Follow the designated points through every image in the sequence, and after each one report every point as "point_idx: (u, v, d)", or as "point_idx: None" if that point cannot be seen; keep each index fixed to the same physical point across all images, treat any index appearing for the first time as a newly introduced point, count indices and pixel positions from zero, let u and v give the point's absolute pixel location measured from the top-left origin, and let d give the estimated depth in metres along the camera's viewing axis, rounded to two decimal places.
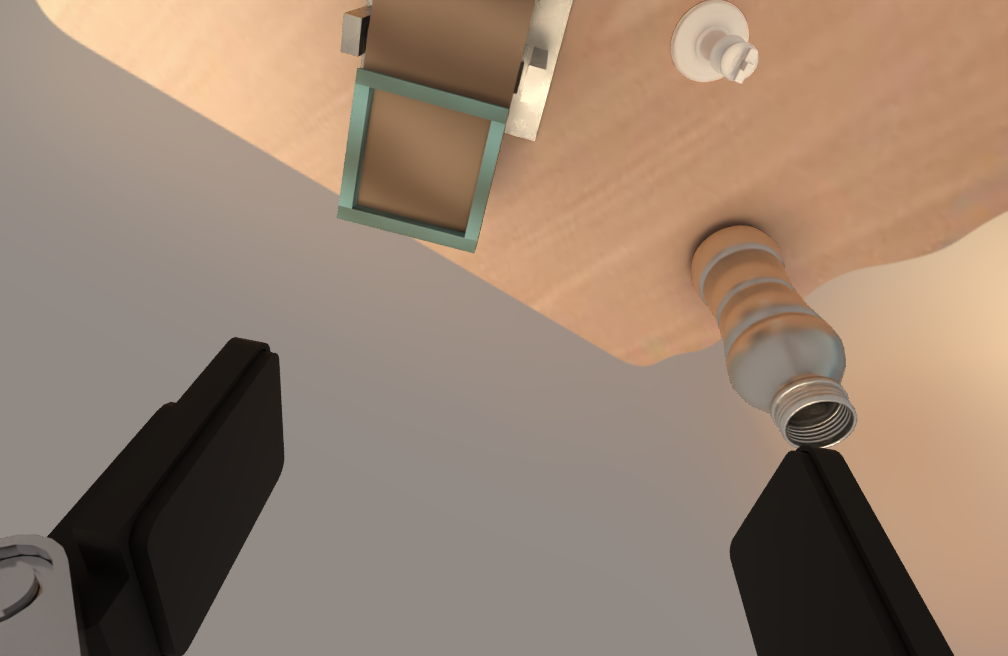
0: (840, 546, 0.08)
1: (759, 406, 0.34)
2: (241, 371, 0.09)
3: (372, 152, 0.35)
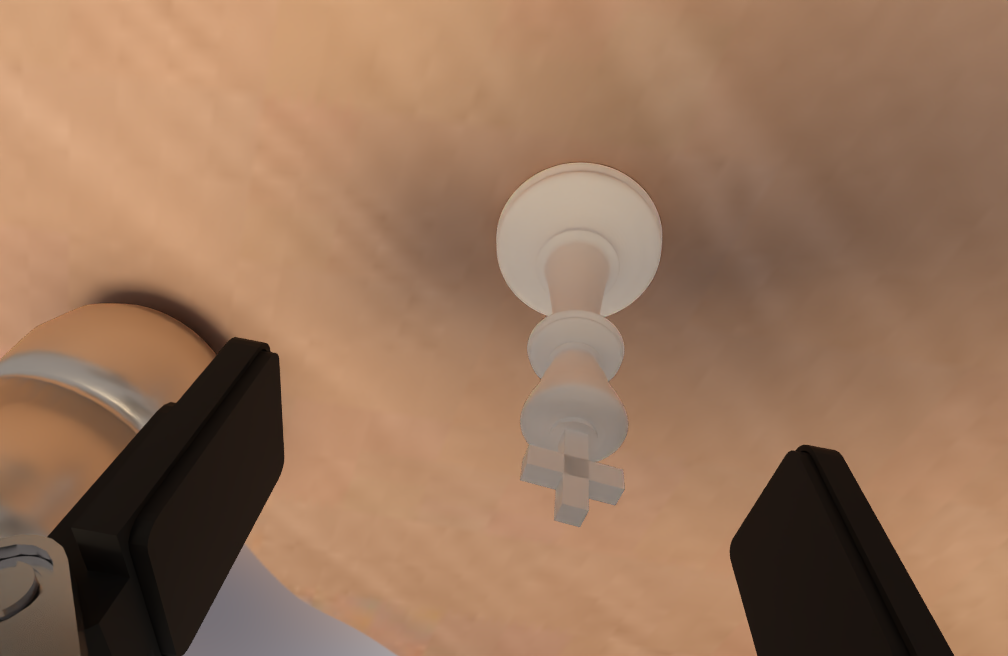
0: (840, 546, 0.08)
1: None
2: (241, 371, 0.09)
3: None
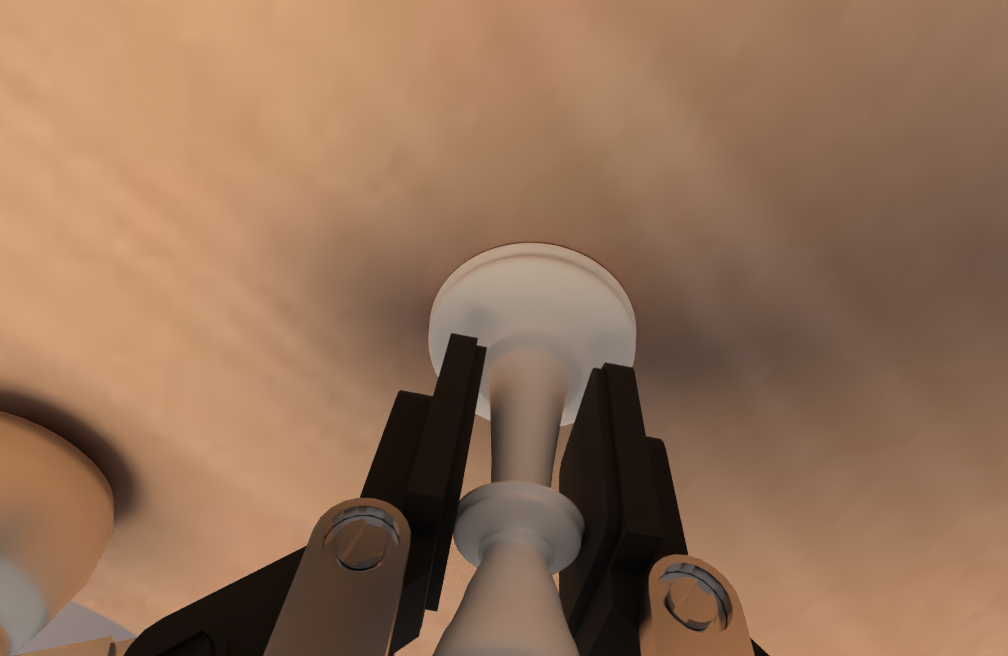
0: (601, 438, 0.09)
1: None
2: (471, 362, 0.10)
3: None
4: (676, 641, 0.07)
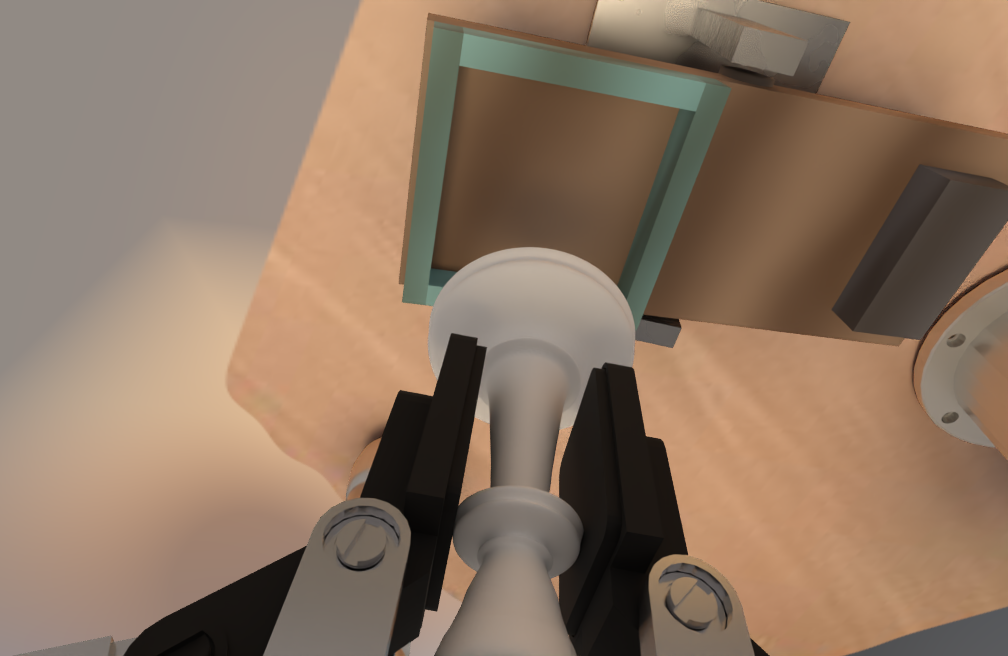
0: (601, 438, 0.09)
1: None
2: (471, 362, 0.10)
3: (565, 94, 0.18)
4: (676, 641, 0.07)
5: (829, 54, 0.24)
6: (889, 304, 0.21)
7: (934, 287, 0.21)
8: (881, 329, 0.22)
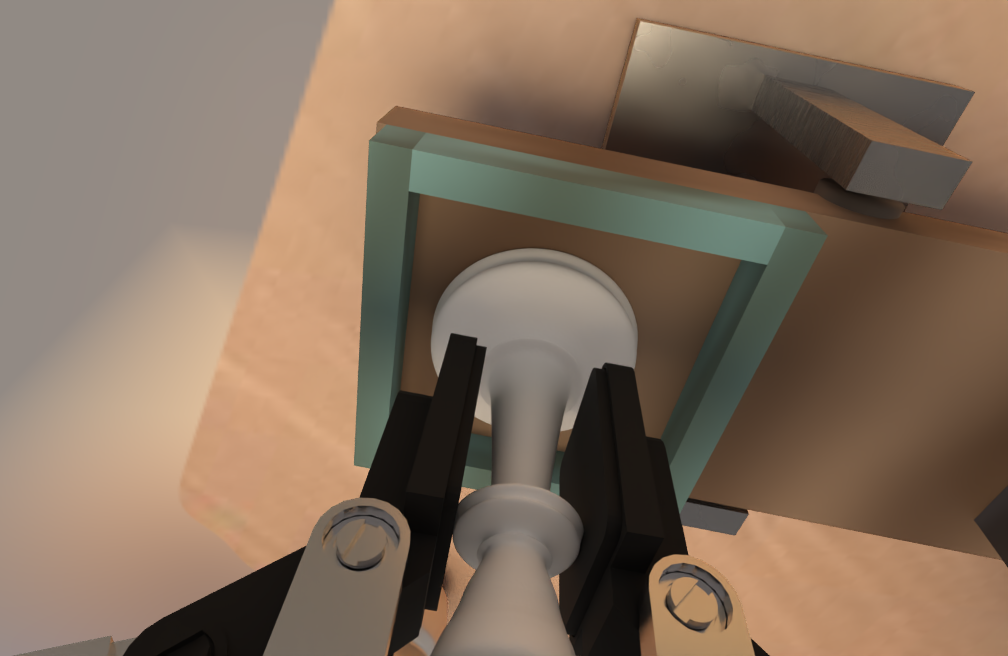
0: (601, 439, 0.09)
1: None
2: (471, 362, 0.10)
3: None
4: (676, 641, 0.07)
5: (942, 133, 0.18)
6: None
7: None
8: None
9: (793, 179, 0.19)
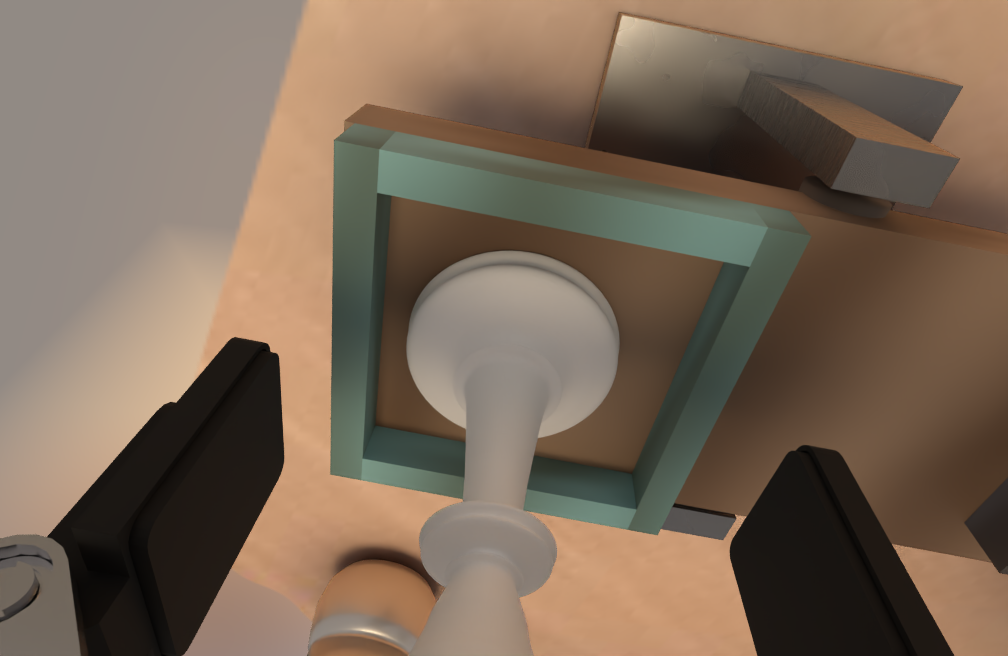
0: (840, 546, 0.08)
1: None
2: (241, 371, 0.09)
3: None
4: None
5: (930, 129, 0.17)
6: None
7: None
8: None
9: (780, 176, 0.18)
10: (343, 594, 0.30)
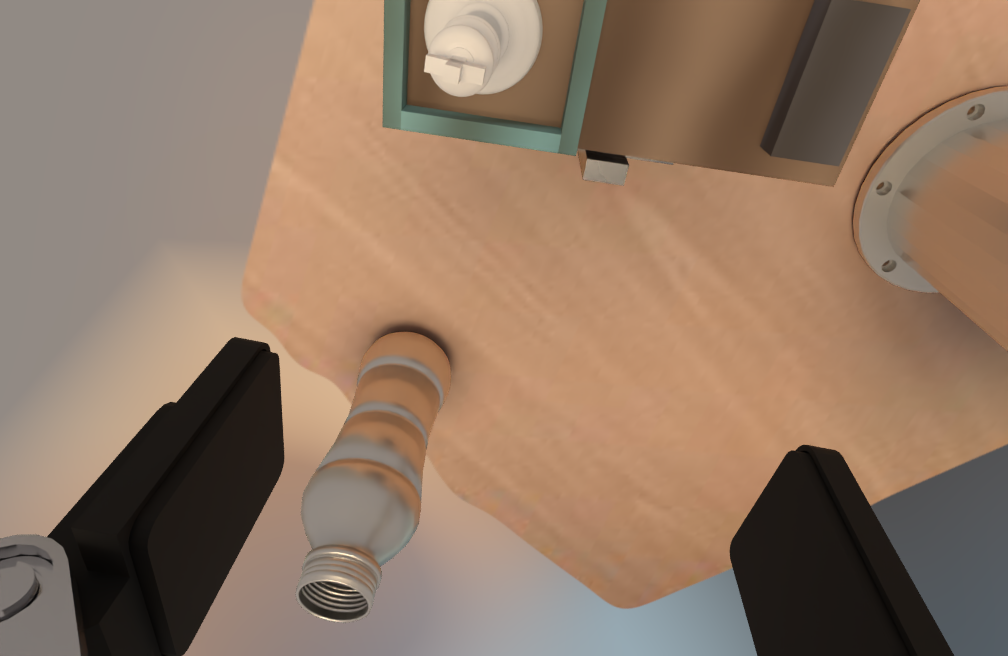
0: (840, 546, 0.08)
1: (312, 521, 0.30)
2: (241, 371, 0.09)
3: None
4: None
5: None
6: (800, 127, 0.24)
7: (840, 109, 0.24)
8: (798, 154, 0.25)
9: None
10: (380, 346, 0.40)
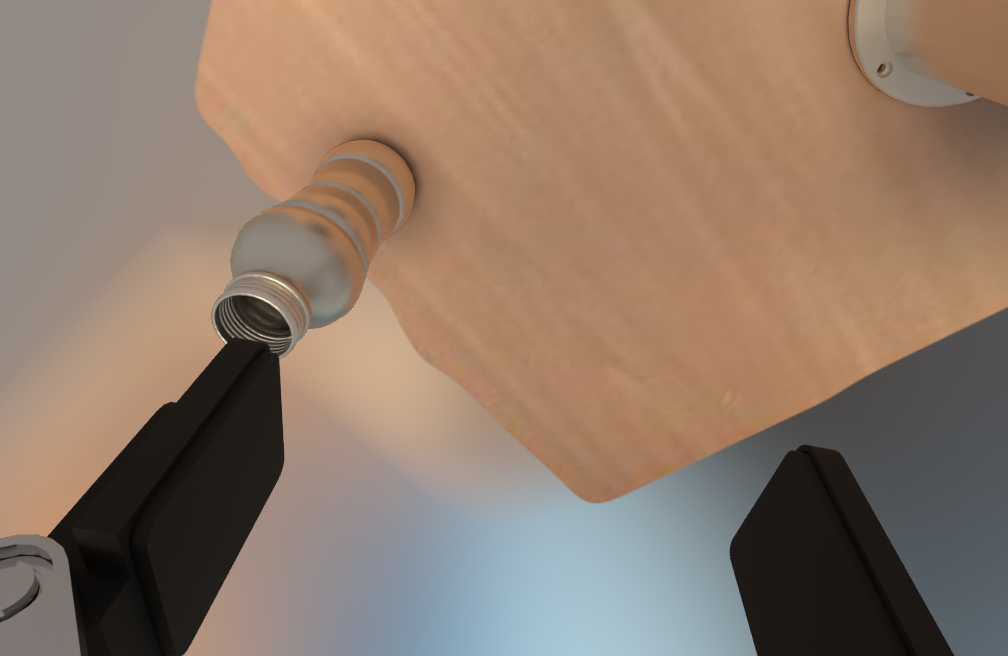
0: (840, 546, 0.08)
1: (239, 259, 0.27)
2: (241, 371, 0.09)
3: None
4: None
5: None
6: None
7: None
8: None
9: None
10: (339, 146, 0.38)
